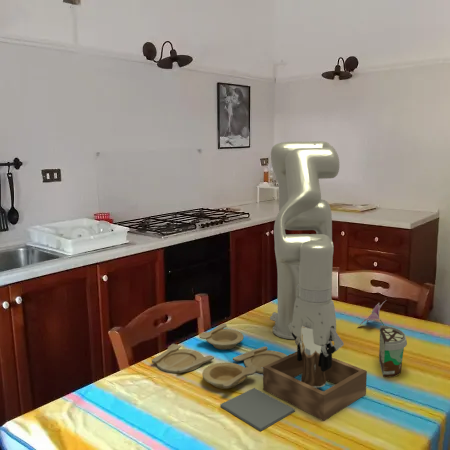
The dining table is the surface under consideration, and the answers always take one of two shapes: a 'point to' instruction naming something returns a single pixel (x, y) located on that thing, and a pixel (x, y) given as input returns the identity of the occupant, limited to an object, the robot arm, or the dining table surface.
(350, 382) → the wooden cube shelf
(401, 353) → the food container
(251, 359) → the tableware set
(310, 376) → the beer glass
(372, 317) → the lily
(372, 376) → the dining table surface
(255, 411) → the grey mat
